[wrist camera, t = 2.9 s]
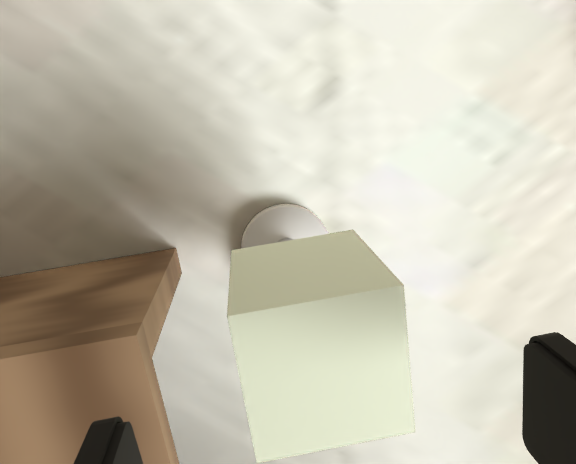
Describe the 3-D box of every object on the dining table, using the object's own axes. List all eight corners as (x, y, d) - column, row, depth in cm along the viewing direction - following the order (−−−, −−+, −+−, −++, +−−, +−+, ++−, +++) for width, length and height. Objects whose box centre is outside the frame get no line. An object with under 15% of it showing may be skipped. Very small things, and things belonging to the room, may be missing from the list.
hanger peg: (323, 196, 25) (403, 284, 13) (333, 279, 27) (415, 432, 14) (233, 211, 25) (227, 316, 12) (249, 294, 26) (256, 463, 14)
